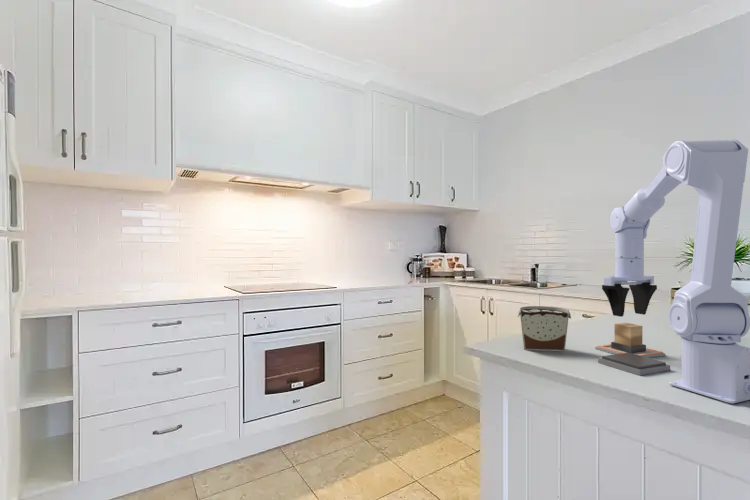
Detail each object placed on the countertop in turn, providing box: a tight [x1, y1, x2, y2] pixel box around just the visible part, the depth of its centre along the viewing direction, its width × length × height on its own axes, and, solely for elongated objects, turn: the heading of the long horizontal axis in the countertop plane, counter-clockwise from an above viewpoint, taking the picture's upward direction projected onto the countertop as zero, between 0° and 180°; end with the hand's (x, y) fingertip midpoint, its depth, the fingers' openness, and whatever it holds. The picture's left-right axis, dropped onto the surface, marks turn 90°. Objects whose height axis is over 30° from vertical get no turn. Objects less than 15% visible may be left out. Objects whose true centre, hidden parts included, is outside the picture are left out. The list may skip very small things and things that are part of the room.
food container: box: [517, 305, 572, 352], centre depth 96 cm, size 12×6×10 cm, turn 82°
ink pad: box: [597, 353, 671, 376], centre depth 80 cm, size 9×9×2 cm
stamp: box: [610, 322, 647, 353], centre depth 92 cm, size 5×5×6 cm
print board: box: [594, 343, 666, 359], centre depth 91 cm, size 10×10×1 cm
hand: (629, 314), depth 91 cm, fingers open, 7 cm apart
